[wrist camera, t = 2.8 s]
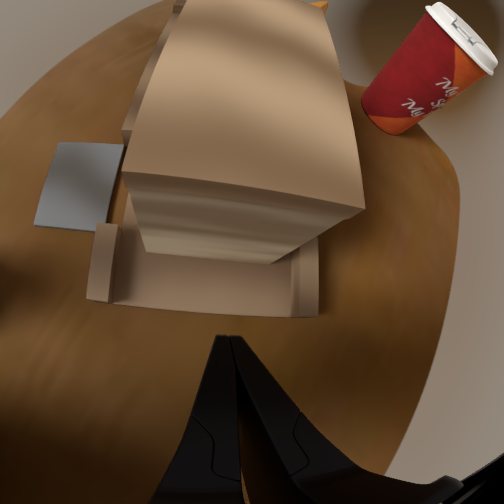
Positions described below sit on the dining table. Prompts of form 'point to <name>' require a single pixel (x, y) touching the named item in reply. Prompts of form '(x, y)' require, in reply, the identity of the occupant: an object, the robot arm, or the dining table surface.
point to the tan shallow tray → (156, 264)
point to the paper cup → (427, 71)
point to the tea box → (243, 134)
